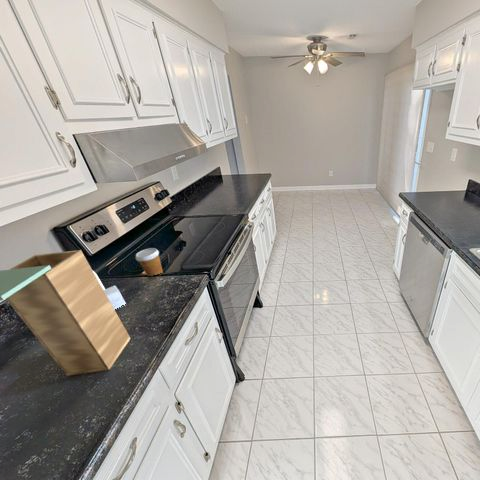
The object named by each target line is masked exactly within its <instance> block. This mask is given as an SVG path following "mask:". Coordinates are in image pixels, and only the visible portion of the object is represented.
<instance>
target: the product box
mask: <svg viewBox="0 0 480 480" xmlns="http://www.w3.org/2000/svg"><path fill="white" fill-rule="evenodd" d="M104 292H105V294H106V295H107V297H108V299H109V301H110V303H111V304H112V306H113V308H114V310H115V309H116V310H118V309H120V308H122V307H123V306H122V305H124V306H126V305H127V302H126V301H125V298H124V297H123V296H122V295H123V294H121V292H120V289H118V287H117V286H116V285H112V286H110V287H108V288H105V290H104ZM125 304H126V305H125ZM121 306H122V307H121ZM119 307H120V308H119ZM117 308H118V309H117ZM116 310H115V311H116Z"/></svg>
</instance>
